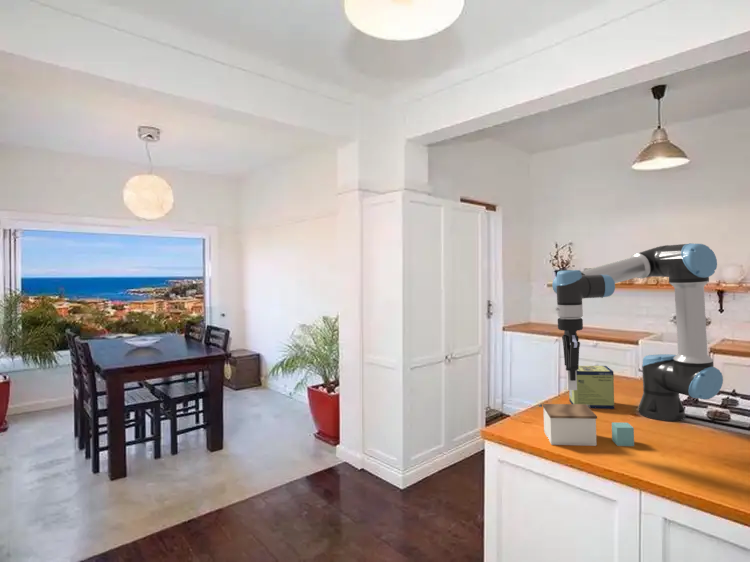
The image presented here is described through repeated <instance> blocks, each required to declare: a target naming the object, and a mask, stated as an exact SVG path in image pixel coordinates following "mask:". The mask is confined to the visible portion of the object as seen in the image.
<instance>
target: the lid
mask: <svg viewBox="0 0 750 562" xmlns="http://www.w3.org/2000/svg"><path fill="white" fill-rule="evenodd" d="M543 407H544V409H545V410H546V412H547V414H548V415H549V417H550V418H581V419H596V420H597V419H598V416H597V414H595V412H594V411H593V410H592V408H589V407H588V406H587V405H586V404H571V403H570V404H569V403H542V408H543Z"/></svg>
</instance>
